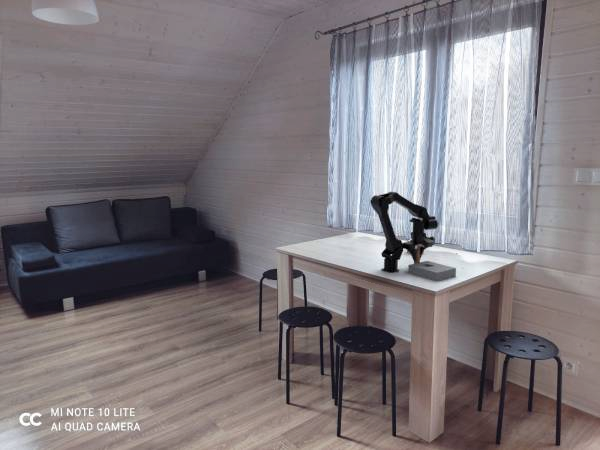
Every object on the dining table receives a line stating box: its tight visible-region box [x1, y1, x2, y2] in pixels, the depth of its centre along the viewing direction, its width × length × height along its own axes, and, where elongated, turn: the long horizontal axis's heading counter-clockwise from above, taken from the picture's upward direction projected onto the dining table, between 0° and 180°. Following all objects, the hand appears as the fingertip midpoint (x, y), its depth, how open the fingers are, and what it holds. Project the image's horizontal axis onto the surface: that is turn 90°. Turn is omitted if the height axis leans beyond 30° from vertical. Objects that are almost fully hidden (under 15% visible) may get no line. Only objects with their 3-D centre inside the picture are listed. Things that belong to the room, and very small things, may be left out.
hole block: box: [407, 260, 457, 282], centre depth 216 cm, size 14×17×4 cm
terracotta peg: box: [413, 247, 421, 264], centre depth 229 cm, size 3×3×10 cm
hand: (416, 260), depth 229 cm, fingers closed on terracotta peg, 3 cm apart
